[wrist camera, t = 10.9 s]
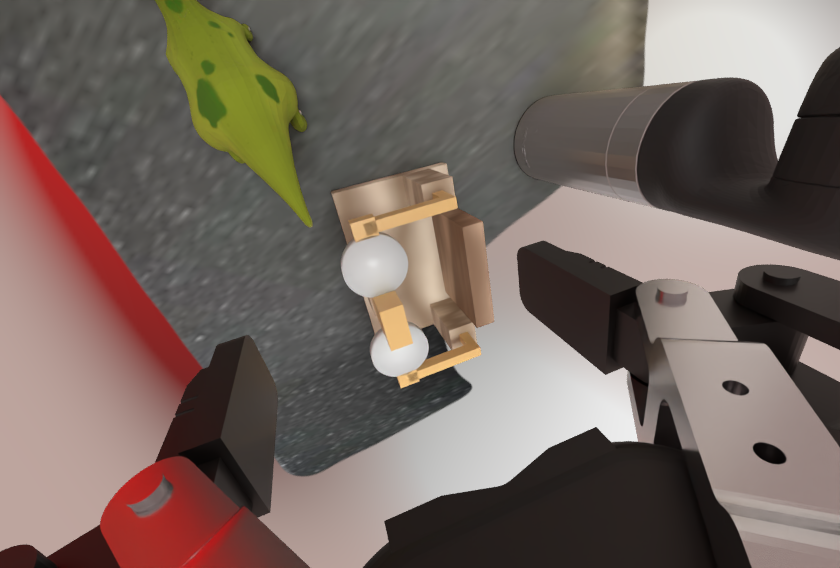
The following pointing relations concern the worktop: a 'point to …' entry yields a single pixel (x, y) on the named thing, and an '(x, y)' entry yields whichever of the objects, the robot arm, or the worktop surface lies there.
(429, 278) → the display stand
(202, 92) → the toy
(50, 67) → the worktop surface
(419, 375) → the glasses
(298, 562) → the robot arm
